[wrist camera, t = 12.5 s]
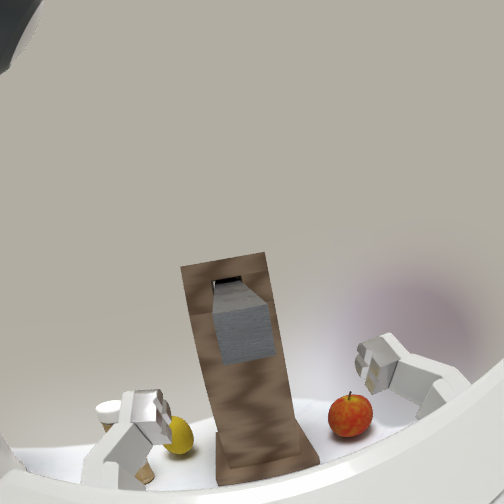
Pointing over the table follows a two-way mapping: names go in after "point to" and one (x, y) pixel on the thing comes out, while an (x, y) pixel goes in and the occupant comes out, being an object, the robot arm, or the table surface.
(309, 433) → the table surface
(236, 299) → the shaft
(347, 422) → the fruit
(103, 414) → the sprinkles bottle
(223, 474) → the block
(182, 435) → the lemon
